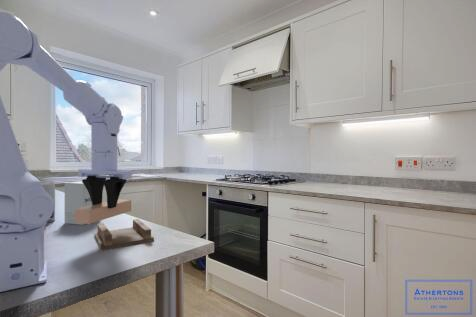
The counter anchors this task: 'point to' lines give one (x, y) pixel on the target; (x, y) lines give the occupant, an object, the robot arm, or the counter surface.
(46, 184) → the energy drink
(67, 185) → the supplement box
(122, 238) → the brown wooden stand
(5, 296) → the counter surface
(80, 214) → the clay strip
